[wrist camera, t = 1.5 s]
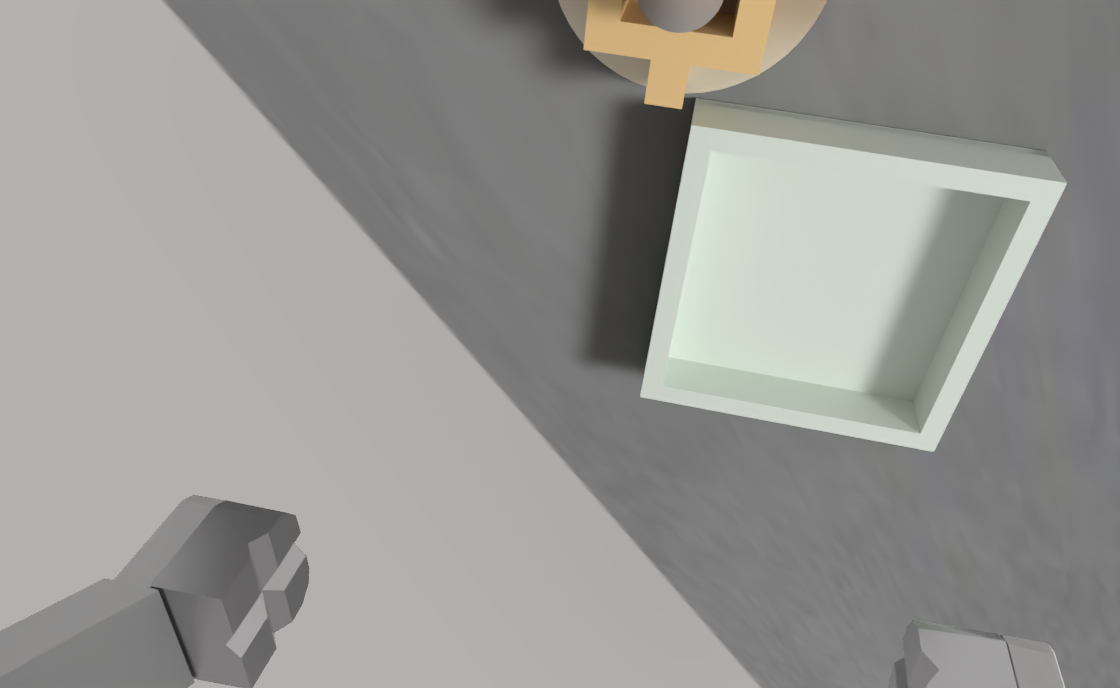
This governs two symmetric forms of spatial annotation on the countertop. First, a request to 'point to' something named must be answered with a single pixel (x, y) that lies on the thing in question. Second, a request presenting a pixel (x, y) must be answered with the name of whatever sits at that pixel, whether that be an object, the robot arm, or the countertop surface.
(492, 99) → the countertop surface
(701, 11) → the stand
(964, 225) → the tray
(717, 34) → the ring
